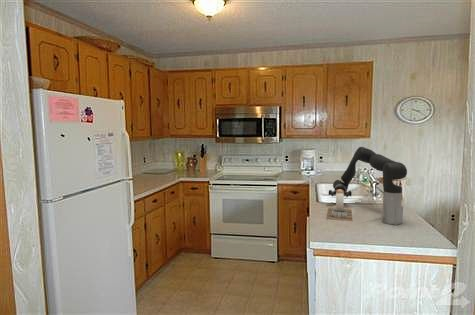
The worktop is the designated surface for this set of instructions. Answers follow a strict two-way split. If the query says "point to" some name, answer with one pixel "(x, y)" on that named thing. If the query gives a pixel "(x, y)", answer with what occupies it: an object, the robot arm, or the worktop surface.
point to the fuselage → (339, 199)
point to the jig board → (348, 218)
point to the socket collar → (339, 213)
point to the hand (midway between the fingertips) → (339, 195)
